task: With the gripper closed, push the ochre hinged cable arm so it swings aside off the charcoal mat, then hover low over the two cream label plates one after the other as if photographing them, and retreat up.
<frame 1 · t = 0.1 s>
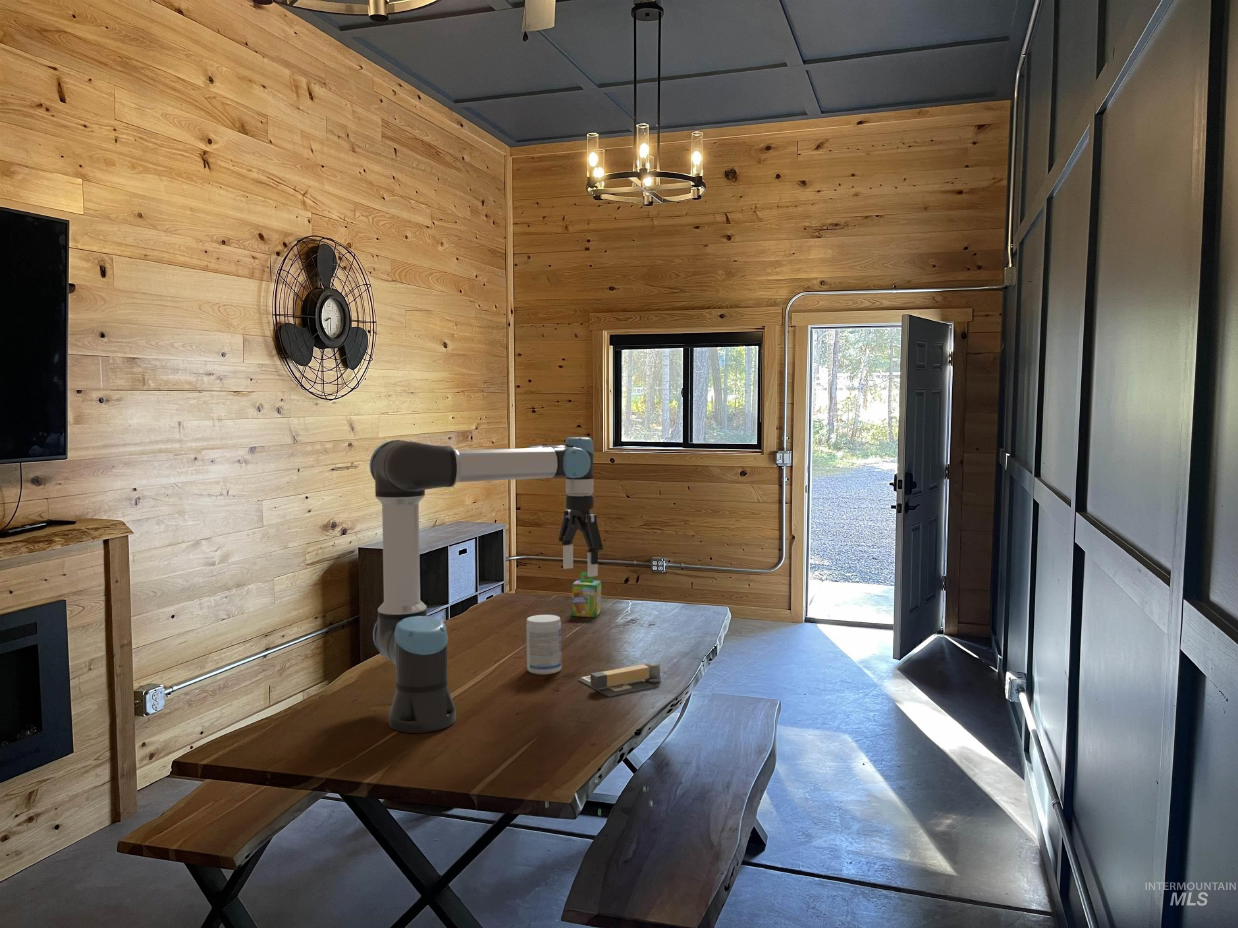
hand: (580, 572, 237), 28 cm above the table, fingers open, 13 cm apart
label A: (619, 689, 225), resting on mat
mat: (616, 683, 229), on the table
label B: (593, 680, 232), resting on mat
cable arm: (626, 674, 227), point 3 cm above the table, hinge at 0.0°
supplement tub: (544, 671, 241), on the table
chalk box: (586, 614, 308), on the table
pivot post: (652, 681, 231), on the table
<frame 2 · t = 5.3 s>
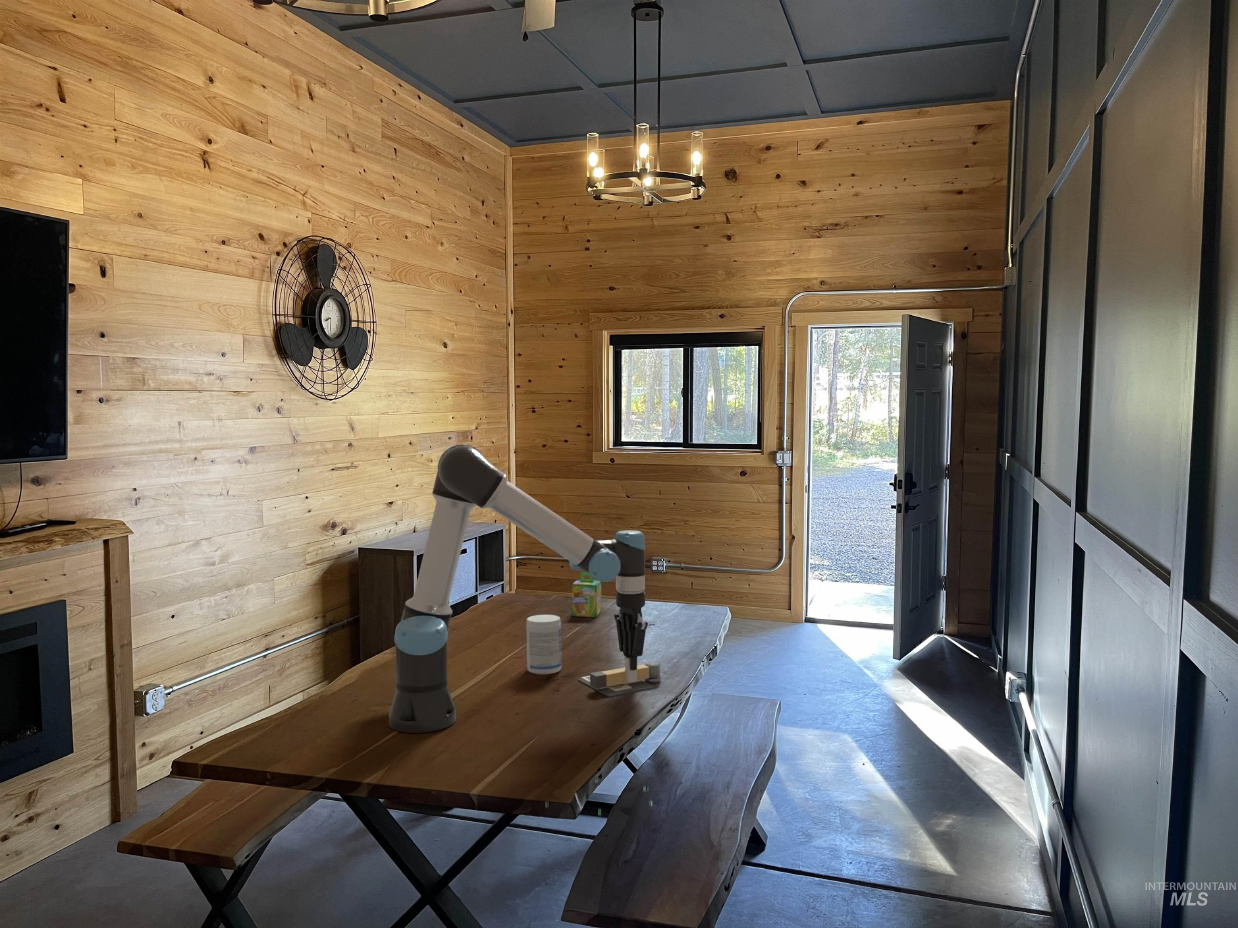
hand: (631, 681, 225), 2 cm above the table, fingers closed
cable arm: (626, 674, 227), point 3 cm above the table, hinge at -1.0°, touching gripper
everything else where it was.
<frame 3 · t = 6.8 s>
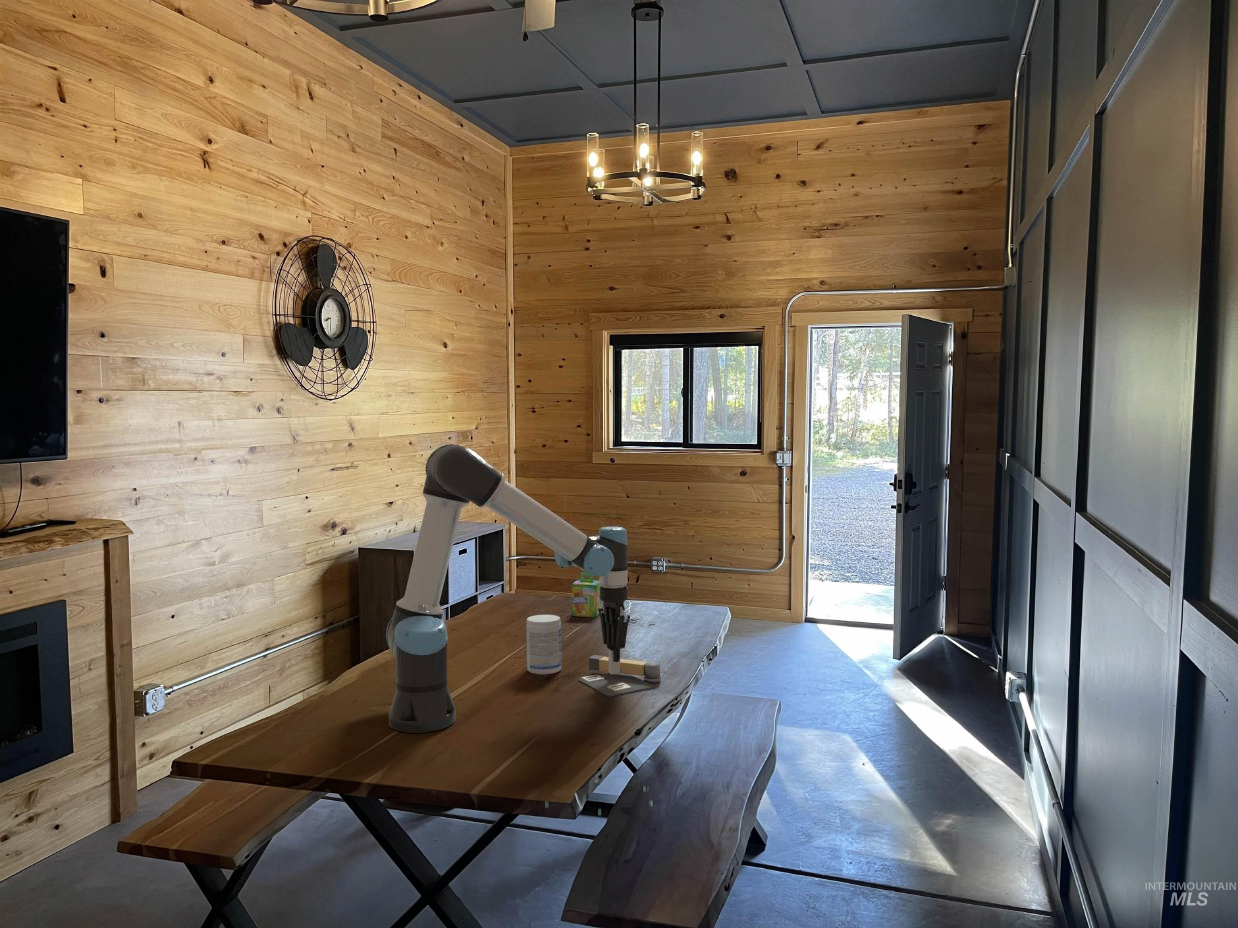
hand: (614, 672, 232), 2 cm above the table, fingers closed
cable arm: (624, 666, 235), point 3 cm above the table, hinge at -56.2°, touching gripper
everything else where it was.
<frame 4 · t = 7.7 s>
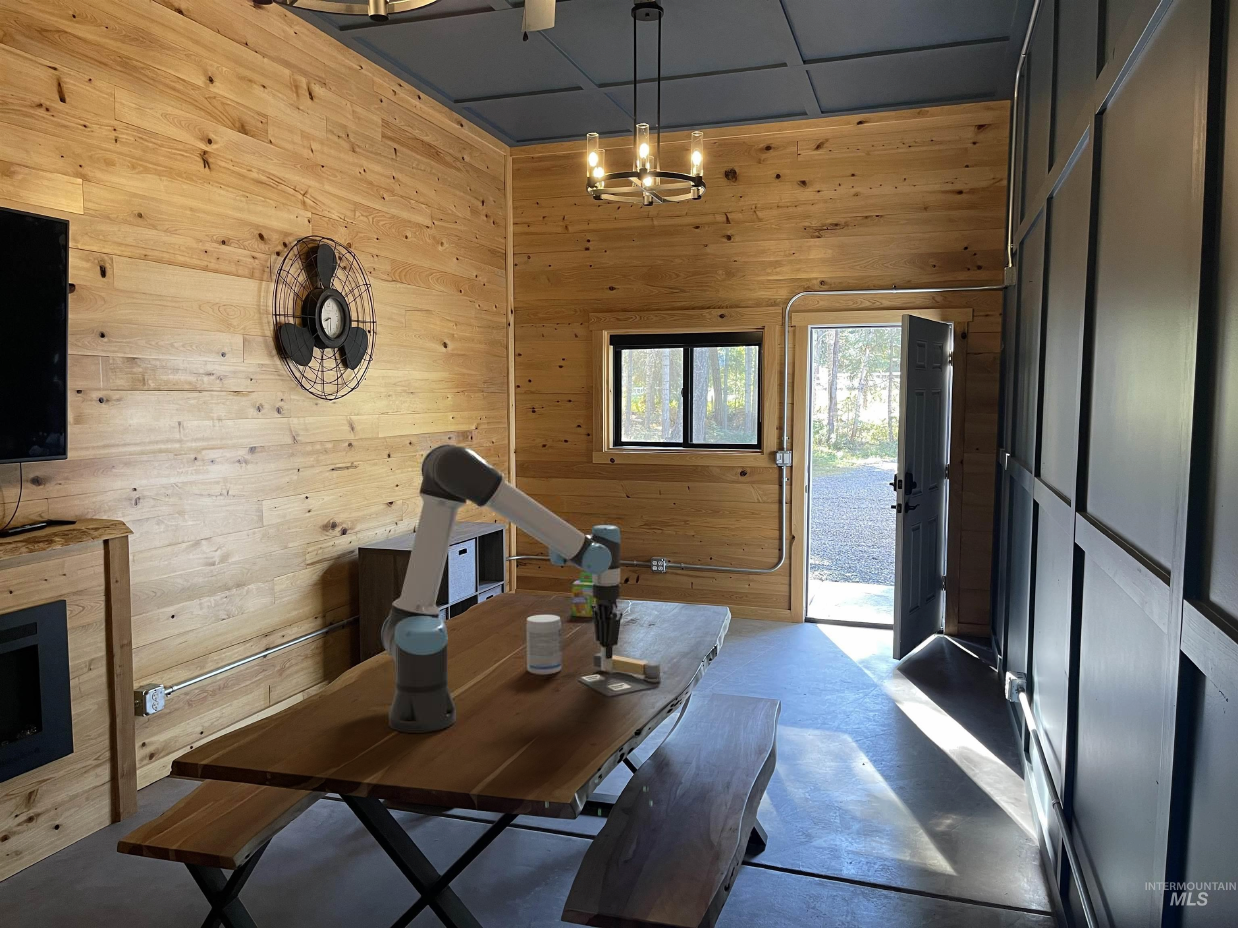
hand: (606, 669, 236), 2 cm above the table, fingers closed
cable arm: (627, 665, 236), point 3 cm above the table, hinge at -65.9°, touching gripper
everything else where it was.
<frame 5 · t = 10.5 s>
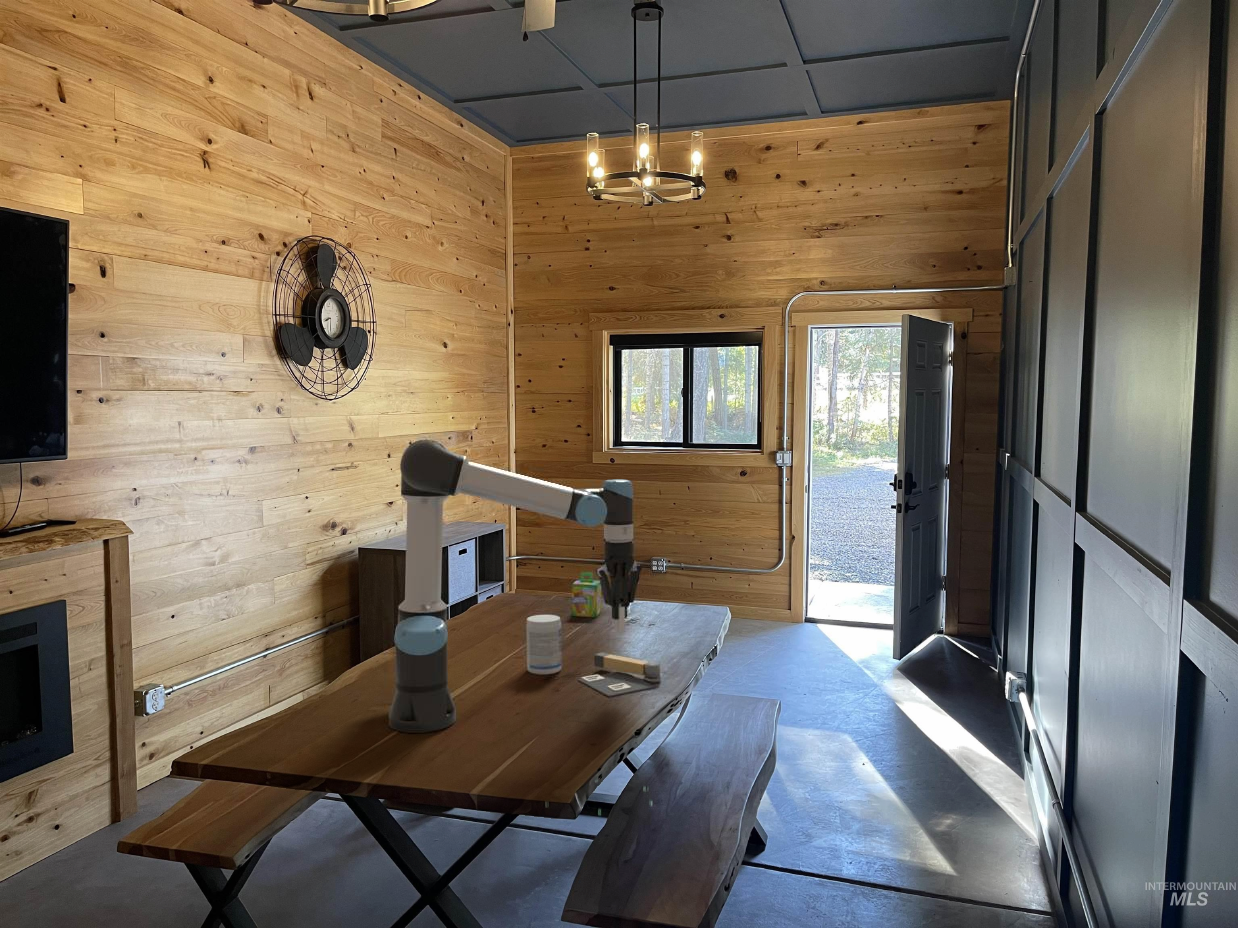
hand: (619, 630, 224), 15 cm above the table, fingers closed
cable arm: (627, 664, 236), point 3 cm above the table, hinge at -66.8°
everything else where it was.
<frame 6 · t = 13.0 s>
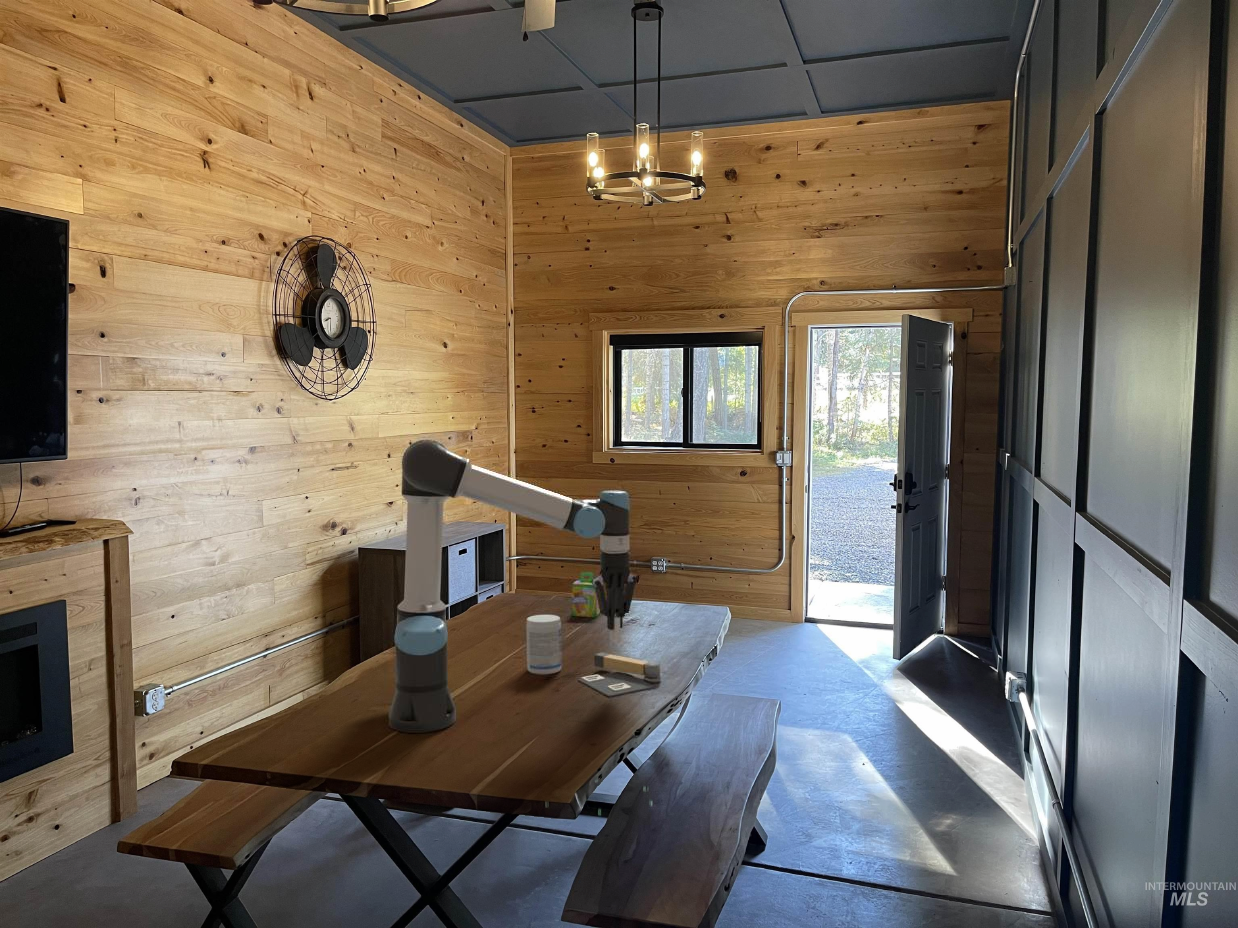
hand: (614, 641, 225), 12 cm above the table, fingers closed
nothing on the table moved.
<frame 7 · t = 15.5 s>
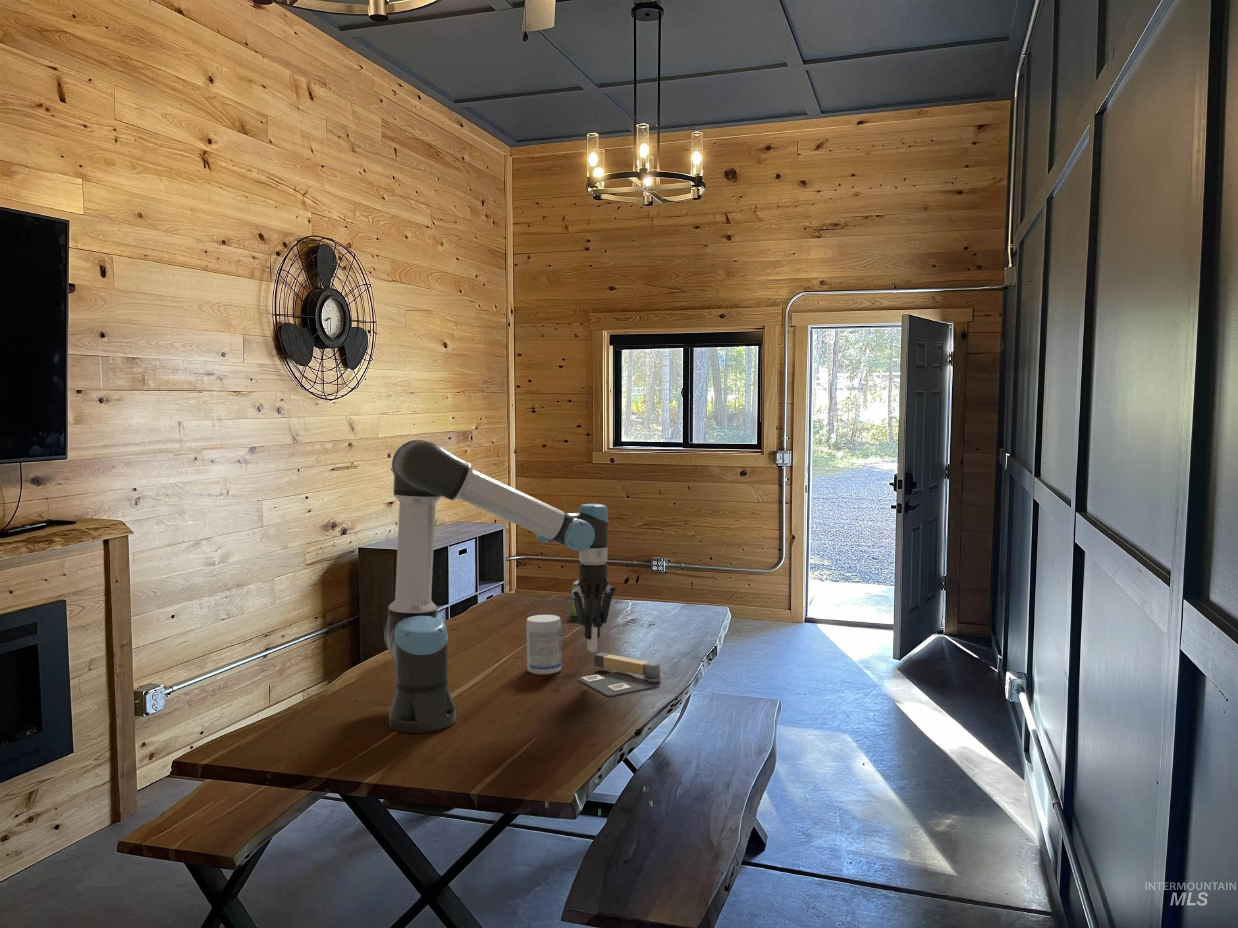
hand: (592, 650, 231), 8 cm above the table, fingers closed
nothing on the table moved.
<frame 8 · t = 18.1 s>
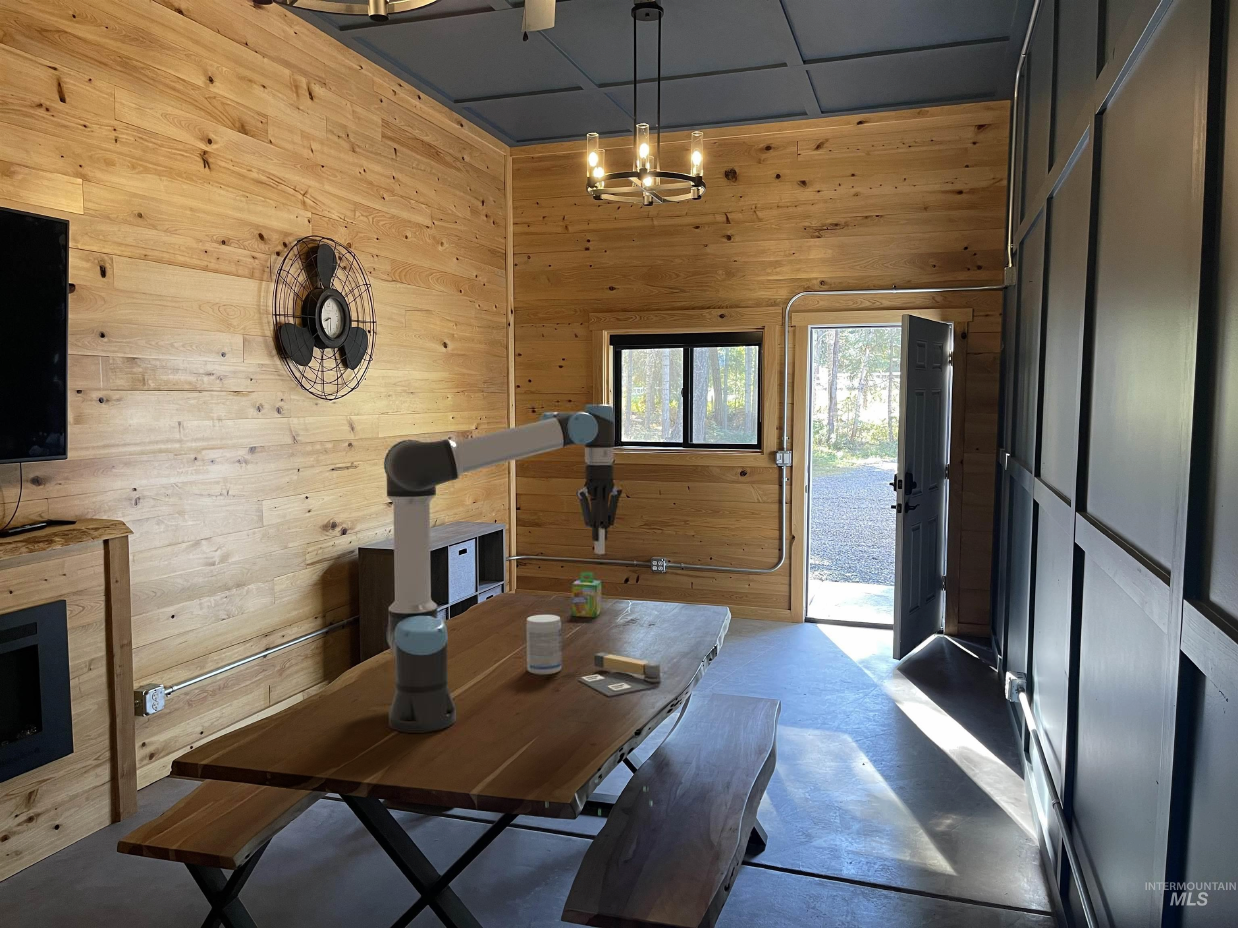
hand: (599, 553, 229), 34 cm above the table, fingers closed
nothing on the table moved.
at the end: cable arm at -67° (first picture: +0°) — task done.
